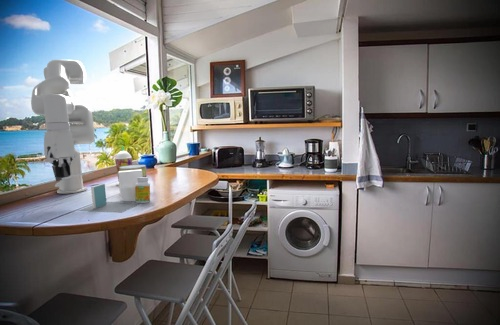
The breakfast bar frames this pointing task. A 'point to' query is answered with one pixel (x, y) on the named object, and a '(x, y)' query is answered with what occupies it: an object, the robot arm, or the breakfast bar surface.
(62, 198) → the breakfast bar surface
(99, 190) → the tile
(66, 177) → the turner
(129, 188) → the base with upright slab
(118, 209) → the mat
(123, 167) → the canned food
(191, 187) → the breakfast bar surface
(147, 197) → the supplement bottle
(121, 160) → the smoothie
